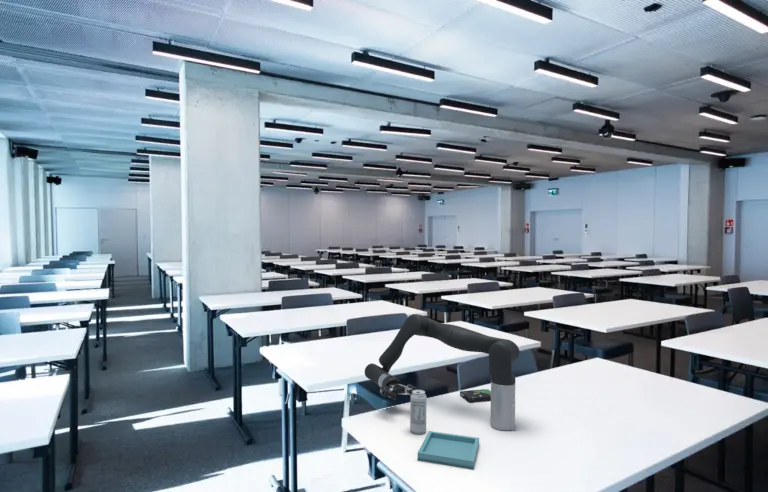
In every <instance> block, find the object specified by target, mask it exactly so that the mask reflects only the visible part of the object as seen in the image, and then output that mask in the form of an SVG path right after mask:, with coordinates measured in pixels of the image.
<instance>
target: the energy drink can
mask: <svg viewBox="0 0 768 492" xmlns="http://www.w3.org/2000/svg"><path fill="white" fill-rule="evenodd" d="M427 399H428V398H427V395H426V391H425V390H423V389H416V390H413V391H412V394H411V395H410V408H409V409H410V410H409V413H410V415H409V416H410V417H409V418H410V419H409V425H410V426H409V427H410V428H409V429H410V431H411V433H412V434H414V435H424V434H425V433H426V431H427V406H428V404H427V402H428V401H427Z"/></svg>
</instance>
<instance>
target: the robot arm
mask: <svg viewBox="0 0 768 492" xmlns="http://www.w3.org/2000/svg"><path fill="white" fill-rule="evenodd" d="M414 336H419V337H420V336H421V337H427V338H432V339H435V340H438V341H440V342H441V343H442V344H445V345H447V346H449V347H451V348H454V349H457V350H460V351H463V352H472V353H482V354H483V353H484V354H487V355H488V371H489V372H488V373H489V375H490V391H491V401H490V417H489V419H490V420H489V421H490V423H489V424H490V426H491V427H492V428H493V429H495V430H498V431H515V429H516V375H515V374H513V371H512V364H513V363H514V362H515V361H517V360H518V359H519V356H520V355H521V354H520V353H521V352H520V348H519V346H518V345H517V344H516V343H515V342H514V341H512V340H511V339H506V338H501V337H496V336H495V337H494V336H490V335H488V334H487V335H486V334H483V333H481V332H478V331H474V330H471V329H469V328H467V327H462V326H460V325H459V326H458V325H456V324H449V323H443V322H438V321H437V320H435V319H432V318H430V317H427V316H425V315H422V314H418V313H414V314H413V313H412V314H410V315H408V317H406V319H405V321H404V322H403V323H402V326H401V327H400V329H399V330H398V332H397V334H396V335H395V337H394V339H393V340H392V342H391V343H390V344H389V345H388V346H387V348H386V349H385V350H384V351H383V353H382V354H381V355H380V356H379V358H378V362H379V364H380V365H381V366H379V365H377V364H376V363H373V362H372V363H369V364H367V365H366V366H365V368H364V376H365V377H366V378H367V379H369V380H370V381H372V382H373V383H375V384H376V385H377V386H378V387H379V389H380V390H379V393H380V395H381V396H382V397H383V398H390V399H393V400H394V401H396V400H397V395H404V396H408V395H409V396H411V394H412V391H413V390H417V387H416V386H414V385H412V384H410V383H408V384H407V385H404V384H402V383H401V381H400V379H398V378H397V377H395V376H394V375H393V374H391V373H389V372H390V370H391V368H392V367H393V366H394V365H395V363H396V362H397V361H398V360H399V359H400V357H401V356H402V354H403V350H404V348H405V345H406V344H407V343H408V341H410V339H411V338H412V337H414Z"/></svg>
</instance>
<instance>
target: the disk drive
mask: <svg viewBox="0 0 768 492" xmlns="http://www.w3.org/2000/svg"><path fill="white" fill-rule="evenodd" d="M459 396H460V397H461V398H462V399H463V400H464V401H466V402H467V403H469V404H474V403H486V402H491V389H490V390H489V388H488V389H487V388H486V389H485V388H483V389H482V388H481V389H472V390H471V389H470V390H460V391H459Z"/></svg>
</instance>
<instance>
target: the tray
mask: <svg viewBox="0 0 768 492" xmlns="http://www.w3.org/2000/svg"><path fill="white" fill-rule="evenodd" d="M479 447H480V437H475V436H466V435H462V434H461V435H460V434H459V435H458V434H454V433H445V432H438V431H431V430H428V433H426V437H424V440H423V442H422V443H421V446H419V450H418V452H417V461H421V462H427V463H433V464H437V465H438V464H439V465H444V466H445V465H446V466H452V467H457V468H463V469H469V470H474V469H475V465H476V461H477V457H478V456H477V455H478V452H479Z"/></svg>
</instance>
